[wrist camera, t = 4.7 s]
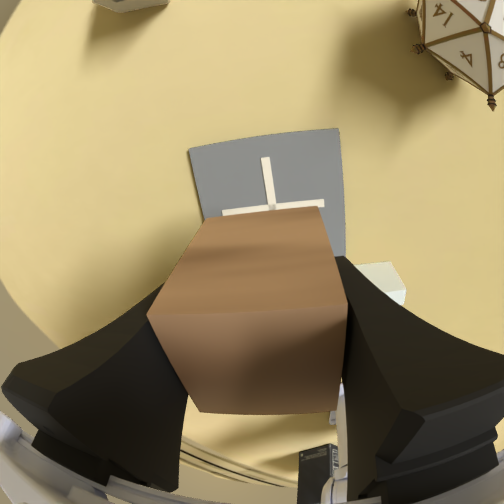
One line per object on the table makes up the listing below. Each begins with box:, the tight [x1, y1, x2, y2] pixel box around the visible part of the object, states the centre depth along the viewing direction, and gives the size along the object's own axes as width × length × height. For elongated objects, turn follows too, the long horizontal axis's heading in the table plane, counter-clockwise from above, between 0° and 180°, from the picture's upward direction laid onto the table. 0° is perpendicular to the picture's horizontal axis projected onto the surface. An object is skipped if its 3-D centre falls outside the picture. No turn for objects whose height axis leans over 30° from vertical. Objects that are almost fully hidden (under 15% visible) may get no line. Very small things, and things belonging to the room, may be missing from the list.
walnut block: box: [146, 206, 348, 415], centre depth 9 cm, size 4×4×6 cm
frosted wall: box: [354, 261, 406, 305], centre depth 18 cm, size 1×16×4 cm, turn 99°
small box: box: [297, 444, 339, 504], centre depth 32 cm, size 11×6×10 cm, turn 43°
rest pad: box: [189, 128, 346, 257], centre depth 17 cm, size 9×9×1 cm
